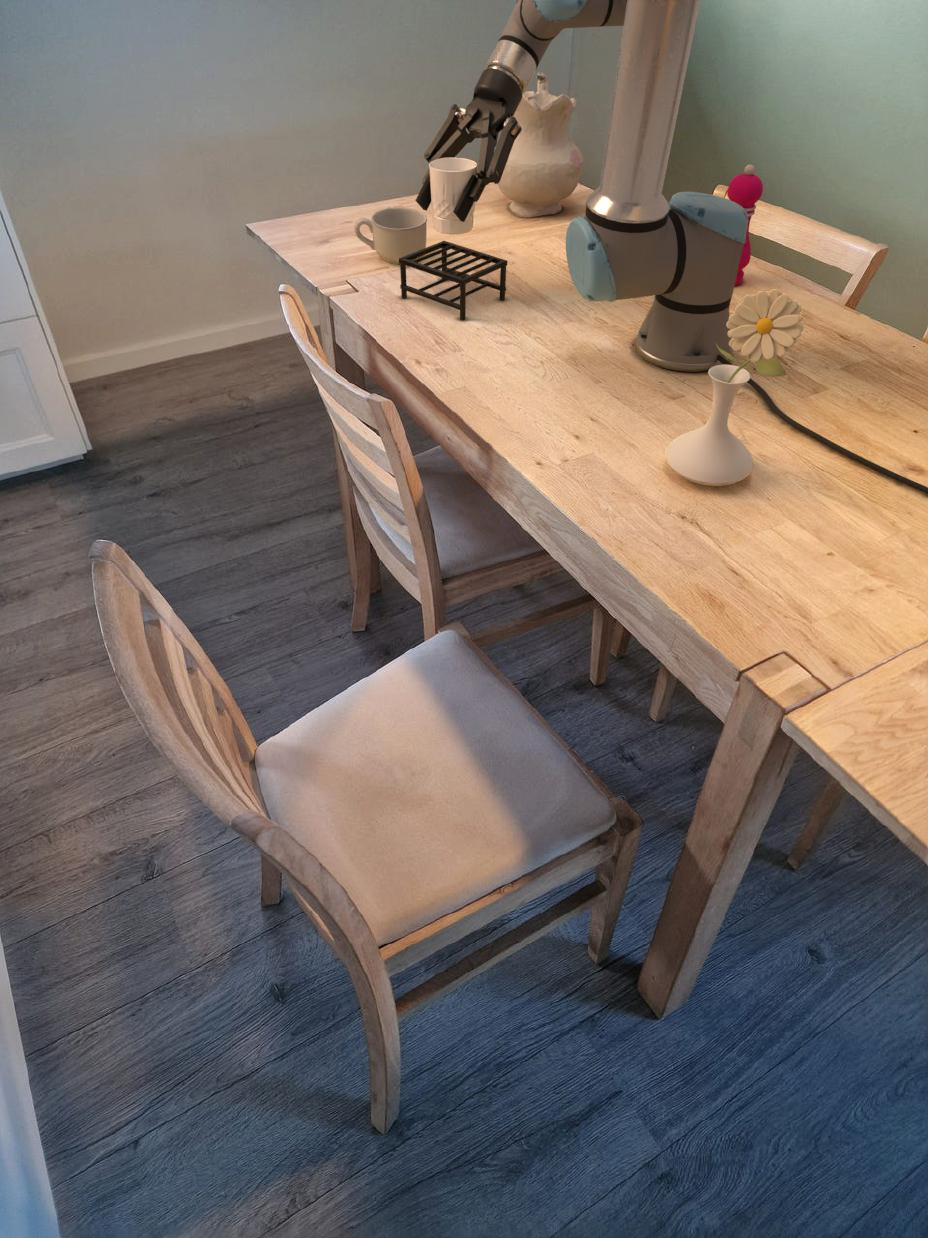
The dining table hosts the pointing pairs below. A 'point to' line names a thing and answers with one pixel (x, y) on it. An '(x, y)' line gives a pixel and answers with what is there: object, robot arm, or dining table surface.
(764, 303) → the flower in vase
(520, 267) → the dining table surface
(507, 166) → the ceramic pitcher
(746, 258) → the pepper mill
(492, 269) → the wire rack
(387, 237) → the teacup
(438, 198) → the white cup
